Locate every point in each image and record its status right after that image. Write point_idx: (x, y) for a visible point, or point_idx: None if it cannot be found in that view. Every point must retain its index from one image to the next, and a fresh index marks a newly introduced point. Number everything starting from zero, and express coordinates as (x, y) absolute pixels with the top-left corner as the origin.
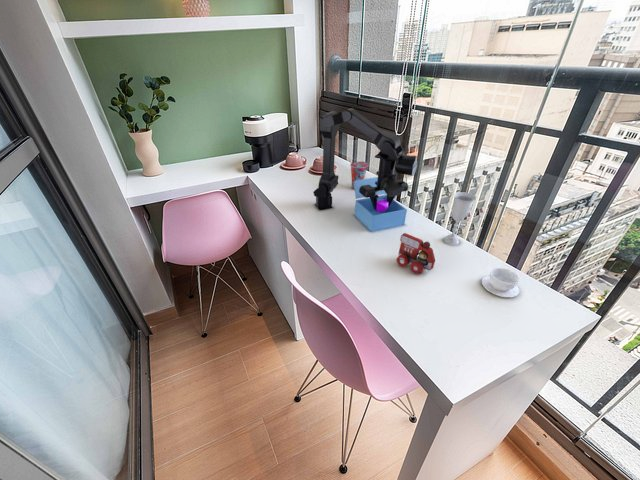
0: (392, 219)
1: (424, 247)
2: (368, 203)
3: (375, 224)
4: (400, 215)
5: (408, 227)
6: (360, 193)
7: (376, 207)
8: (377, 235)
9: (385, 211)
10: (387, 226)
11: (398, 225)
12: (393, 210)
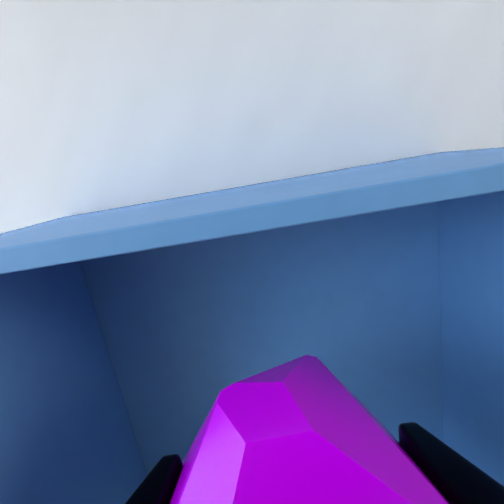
0: (192, 202)
1: None
2: None
3: (448, 155)
4: (50, 230)
5: (29, 162)
6: None
7: (404, 452)
8: (411, 62)
9: None
10: (255, 185)
11: (123, 207)
12: (97, 436)
